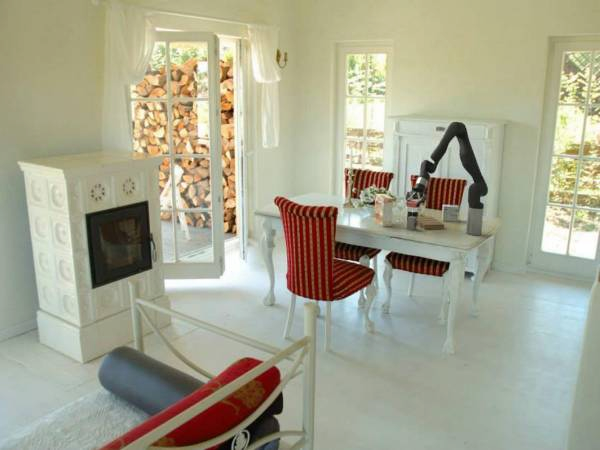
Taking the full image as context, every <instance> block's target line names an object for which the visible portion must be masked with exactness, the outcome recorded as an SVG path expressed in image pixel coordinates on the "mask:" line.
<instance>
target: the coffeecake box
mask: <svg viewBox="0 0 600 450" xmlns="http://www.w3.org/2000/svg"><path fill="white" fill-rule="evenodd" d="M374 199H375V201H374V215H373V217H374V218H373V222H374V223H376V224H377V225H379V226H380V227H382V228H384V227H392V220H393V207H394V205H393V204H394V198H393V197H392V196H390V195H387V194H385V193H375V197H374Z"/></svg>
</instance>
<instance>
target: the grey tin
mask: <svg viewBox="0 0 600 450" xmlns="http://www.w3.org/2000/svg"><path fill="white" fill-rule="evenodd" d="M417 217H418V216H414V215H413V216H412V215H409V216H408V217H407V218H406V219H407V220H406V229H407V230H409V231H410V230H411V231H416V230H417V227H418V225H417Z"/></svg>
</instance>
